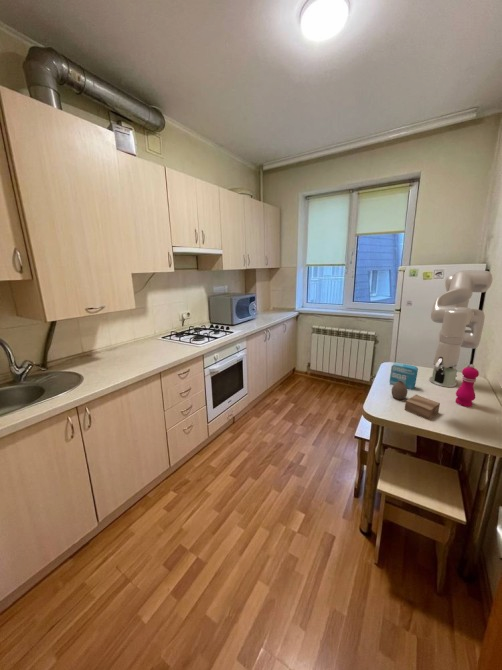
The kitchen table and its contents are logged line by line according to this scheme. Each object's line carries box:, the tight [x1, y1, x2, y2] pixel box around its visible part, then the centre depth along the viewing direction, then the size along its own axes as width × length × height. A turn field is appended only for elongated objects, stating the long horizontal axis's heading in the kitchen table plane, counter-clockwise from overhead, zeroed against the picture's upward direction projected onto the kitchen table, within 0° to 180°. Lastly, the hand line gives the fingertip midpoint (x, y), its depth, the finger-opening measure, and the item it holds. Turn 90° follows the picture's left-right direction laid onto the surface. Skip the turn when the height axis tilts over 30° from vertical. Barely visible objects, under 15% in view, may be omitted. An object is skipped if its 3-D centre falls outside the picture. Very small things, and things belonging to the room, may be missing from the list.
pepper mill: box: [455, 363, 480, 408], centre depth 123 cm, size 7×7×20 cm
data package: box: [389, 362, 419, 390], centre depth 144 cm, size 12×4×12 cm, turn 52°
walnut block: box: [404, 394, 441, 421], centre depth 119 cm, size 10×10×5 cm
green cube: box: [430, 365, 458, 387], centre depth 110 cm, size 6×6×6 cm
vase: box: [391, 381, 408, 400], centre depth 131 cm, size 7×7×9 cm
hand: (443, 380), depth 111 cm, fingers closed on green cube, 6 cm apart
